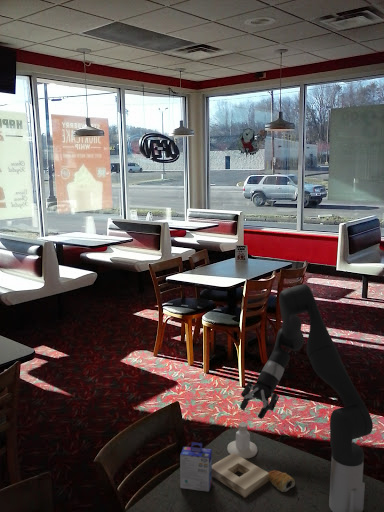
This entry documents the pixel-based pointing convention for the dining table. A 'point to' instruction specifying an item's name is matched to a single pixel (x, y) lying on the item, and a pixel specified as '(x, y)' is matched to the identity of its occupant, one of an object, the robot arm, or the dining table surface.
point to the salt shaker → (242, 437)
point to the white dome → (244, 454)
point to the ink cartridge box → (196, 468)
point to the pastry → (281, 480)
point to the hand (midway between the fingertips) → (250, 413)
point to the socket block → (246, 482)
